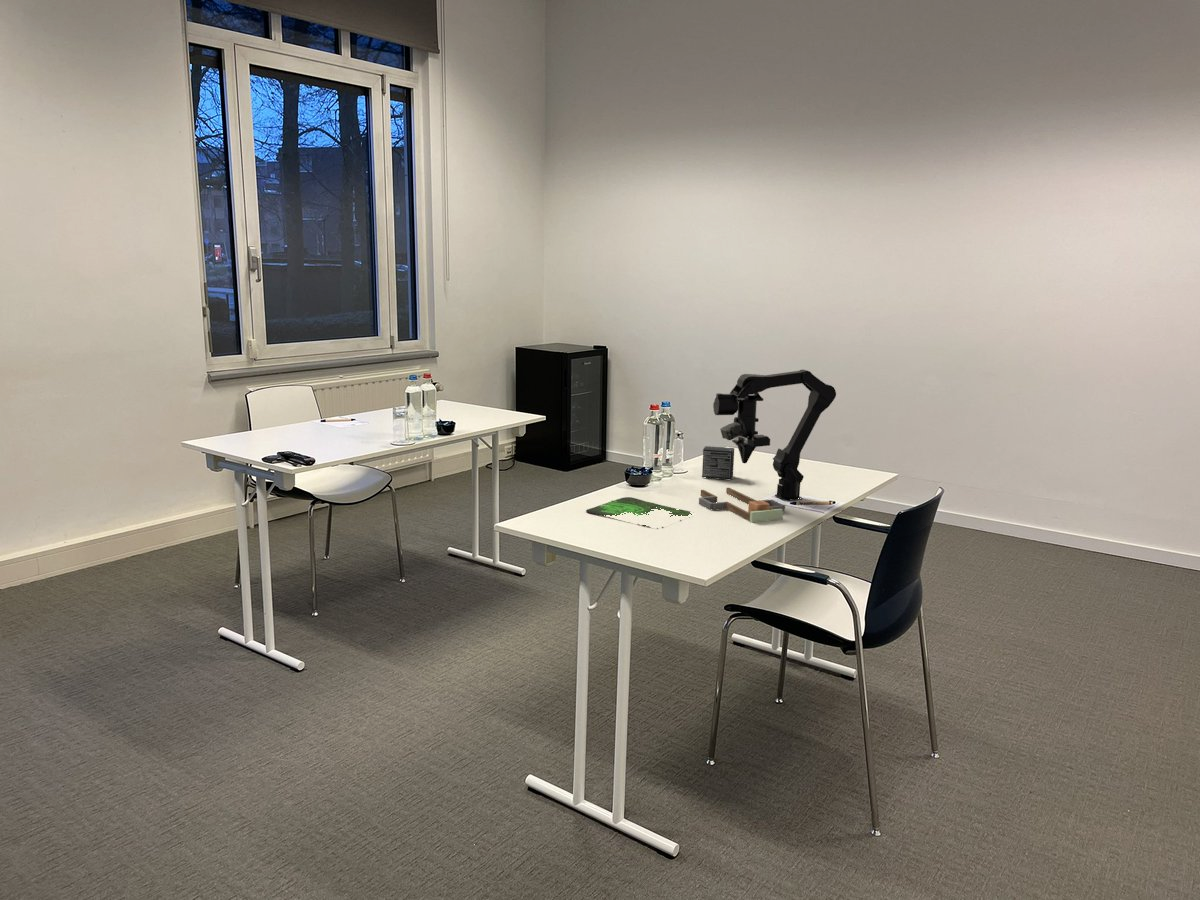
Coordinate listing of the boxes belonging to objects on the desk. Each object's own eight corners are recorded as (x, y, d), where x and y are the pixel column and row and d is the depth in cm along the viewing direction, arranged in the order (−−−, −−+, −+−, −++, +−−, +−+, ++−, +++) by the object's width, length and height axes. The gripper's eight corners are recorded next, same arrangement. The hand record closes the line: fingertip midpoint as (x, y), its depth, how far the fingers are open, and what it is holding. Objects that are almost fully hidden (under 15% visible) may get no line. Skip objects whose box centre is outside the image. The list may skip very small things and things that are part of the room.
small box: (733, 476, 314) (735, 447, 312) (731, 480, 308) (733, 451, 306) (703, 473, 317) (705, 445, 315) (701, 478, 311) (702, 448, 309)
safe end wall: (780, 518, 264) (780, 508, 263) (782, 519, 263) (782, 509, 262) (749, 521, 260) (750, 511, 259) (751, 522, 259) (752, 512, 258)
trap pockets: (755, 498, 286) (755, 492, 285) (785, 512, 270) (785, 506, 270) (698, 503, 278) (698, 497, 277) (725, 518, 262) (725, 511, 262)
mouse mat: (699, 514, 267) (699, 511, 267) (659, 531, 250) (659, 527, 249) (625, 498, 283) (625, 495, 282) (582, 513, 265) (582, 510, 265)
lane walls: (728, 493, 291) (729, 487, 290) (780, 518, 264) (780, 511, 263) (700, 495, 287) (700, 489, 286) (749, 521, 260) (750, 514, 259)
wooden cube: (760, 514, 268) (761, 500, 267) (768, 518, 263) (769, 504, 262) (747, 515, 266) (748, 501, 265) (755, 520, 262) (756, 505, 261)
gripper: (709, 411, 283) (707, 459, 286) (742, 421, 267) (739, 471, 270) (738, 409, 288) (736, 456, 291) (772, 419, 271) (769, 468, 275)
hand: (744, 463), depth 282 cm, fingers closed
